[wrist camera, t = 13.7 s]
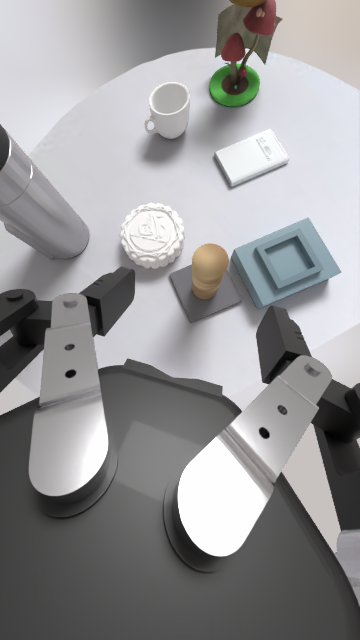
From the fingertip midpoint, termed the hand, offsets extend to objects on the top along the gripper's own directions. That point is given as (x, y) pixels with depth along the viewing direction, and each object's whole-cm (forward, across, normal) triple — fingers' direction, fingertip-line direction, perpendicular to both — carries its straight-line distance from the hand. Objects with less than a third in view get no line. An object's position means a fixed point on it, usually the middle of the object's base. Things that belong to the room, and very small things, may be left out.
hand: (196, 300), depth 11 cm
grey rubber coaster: (+23, 0, +11) cm, 25 cm away
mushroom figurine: (+56, +4, -21) cm, 60 cm away
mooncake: (+28, +12, +7) cm, 31 cm away
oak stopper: (+22, 0, +11) cm, 25 cm away
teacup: (+46, +16, -11) cm, 50 cm away
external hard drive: (+44, -2, -8) cm, 45 cm away
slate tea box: (+28, -13, +6) cm, 31 cm away
